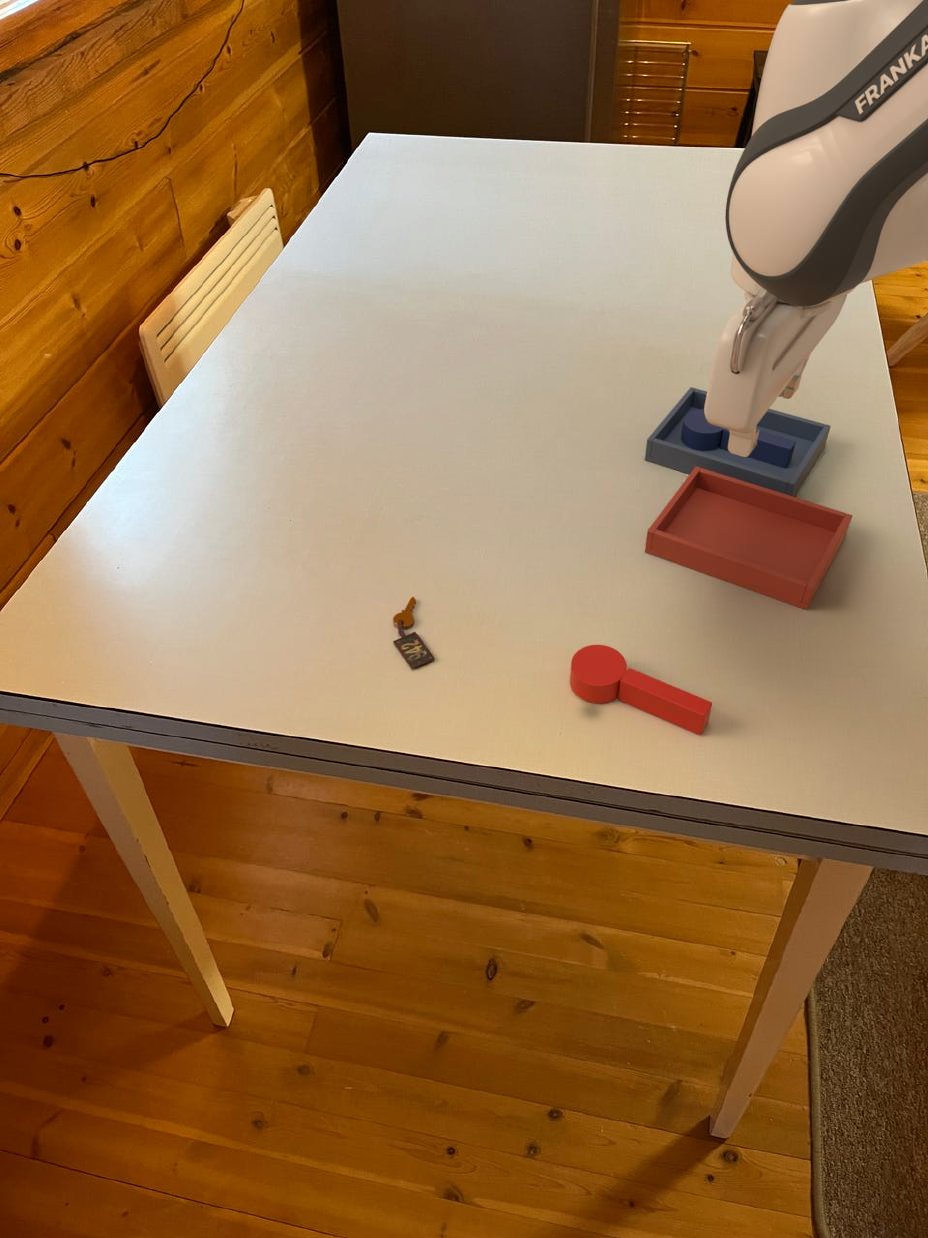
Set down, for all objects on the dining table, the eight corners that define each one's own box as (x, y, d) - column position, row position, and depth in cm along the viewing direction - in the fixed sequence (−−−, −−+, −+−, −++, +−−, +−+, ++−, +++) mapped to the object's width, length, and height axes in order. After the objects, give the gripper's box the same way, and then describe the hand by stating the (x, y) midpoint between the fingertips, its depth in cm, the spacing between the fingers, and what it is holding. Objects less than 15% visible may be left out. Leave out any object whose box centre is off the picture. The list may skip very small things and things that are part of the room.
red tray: (845, 536, 86) (852, 514, 84) (806, 610, 80) (813, 588, 78) (692, 487, 92) (695, 465, 91) (644, 551, 86) (647, 530, 84)
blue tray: (825, 446, 96) (831, 425, 94) (788, 505, 90) (794, 484, 88) (687, 407, 102) (690, 386, 100) (644, 460, 96) (646, 439, 94)
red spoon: (715, 709, 73) (720, 689, 71) (693, 748, 70) (697, 729, 69) (585, 655, 77) (587, 635, 76) (560, 690, 75) (561, 670, 73)
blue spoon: (795, 453, 95) (801, 433, 93) (781, 476, 92) (786, 456, 90) (690, 422, 99) (694, 403, 97) (674, 443, 97) (677, 423, 95)
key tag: (436, 664, 77) (435, 659, 77) (401, 671, 77) (400, 666, 76) (415, 597, 83) (414, 593, 82) (382, 604, 82) (381, 600, 82)
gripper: (789, 327, 58) (752, 502, 68) (885, 209, 70) (842, 373, 79) (695, 305, 61) (673, 476, 70) (803, 195, 72) (770, 355, 82)
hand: (763, 421), depth 75 cm, fingers open, 8 cm apart
